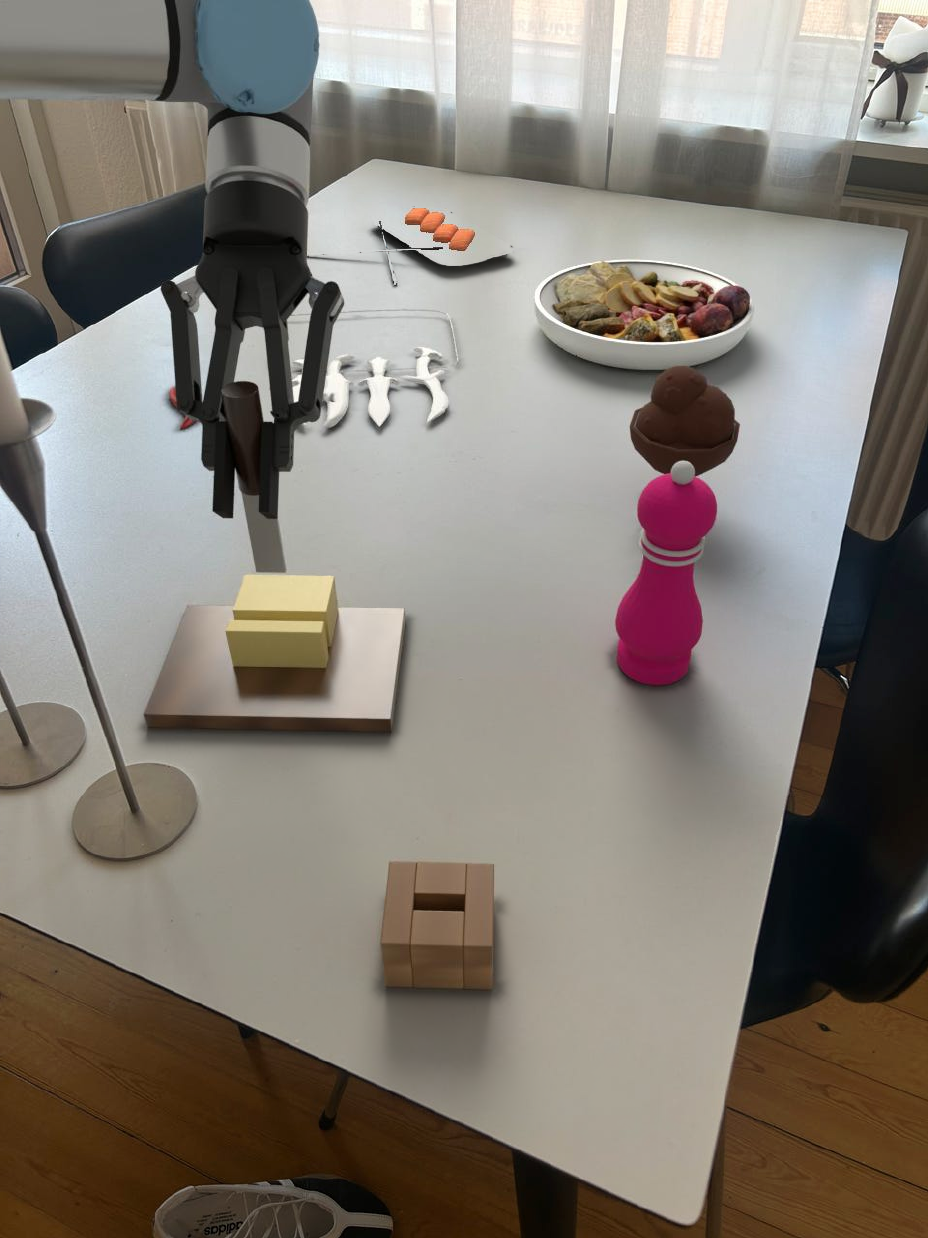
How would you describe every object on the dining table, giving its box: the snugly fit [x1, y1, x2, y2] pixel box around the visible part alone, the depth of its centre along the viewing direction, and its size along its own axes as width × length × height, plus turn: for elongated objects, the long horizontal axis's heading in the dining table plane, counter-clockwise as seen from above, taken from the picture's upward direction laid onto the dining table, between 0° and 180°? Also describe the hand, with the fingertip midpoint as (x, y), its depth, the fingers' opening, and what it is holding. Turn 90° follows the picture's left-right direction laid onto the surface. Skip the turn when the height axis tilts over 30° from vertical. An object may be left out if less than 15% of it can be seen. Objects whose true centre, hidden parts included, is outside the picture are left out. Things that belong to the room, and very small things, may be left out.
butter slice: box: [225, 620, 329, 668], centre depth 81 cm, size 8×2×4 cm, turn 88°
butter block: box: [232, 574, 339, 647], centre depth 84 cm, size 8×5×4 cm, turn 88°
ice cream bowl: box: [629, 366, 741, 477], centre depth 98 cm, size 11×11×15 cm
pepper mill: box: [614, 461, 718, 686], centre depth 78 cm, size 7×7×20 cm
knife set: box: [290, 308, 459, 428], centre depth 128 cm, size 26×35×1 cm
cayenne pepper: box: [168, 386, 197, 430], centre depth 120 cm, size 12×5×2 cm, turn 6°
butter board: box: [143, 604, 407, 733], centre depth 83 cm, size 20×14×2 cm
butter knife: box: [221, 380, 287, 574], centre depth 73 cm, size 3×3×16 cm
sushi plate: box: [379, 208, 475, 285], centre depth 161 cm, size 29×30×4 cm
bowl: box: [533, 259, 755, 371], centre depth 134 cm, size 30×30×8 cm
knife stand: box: [379, 860, 495, 991], centre depth 62 cm, size 7×6×5 cm
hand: (245, 514), depth 70 cm, fingers closed on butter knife, 3 cm apart
